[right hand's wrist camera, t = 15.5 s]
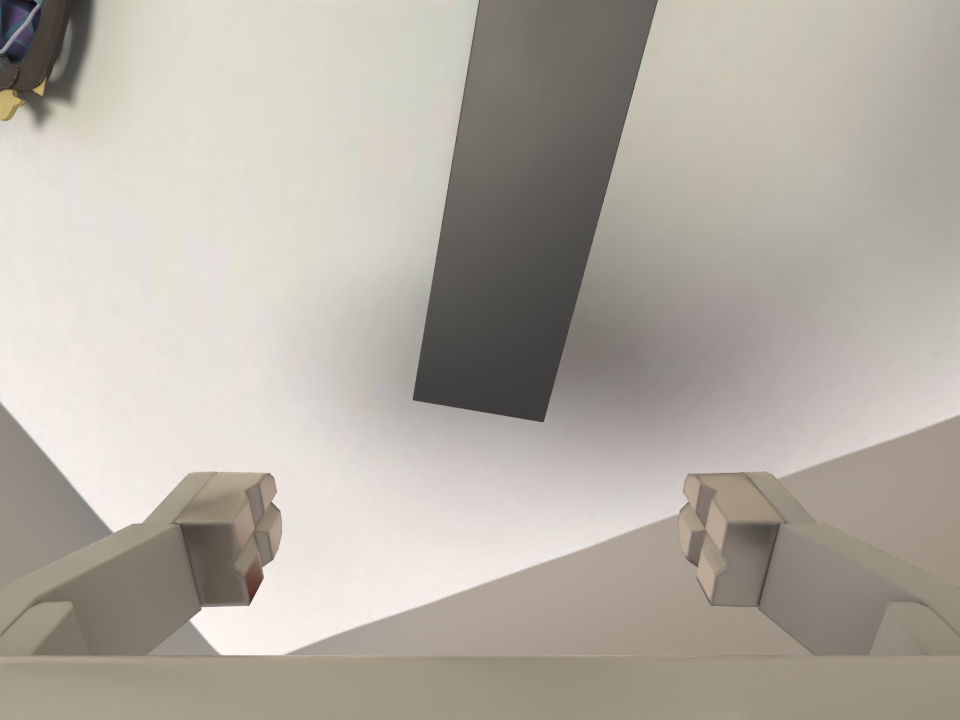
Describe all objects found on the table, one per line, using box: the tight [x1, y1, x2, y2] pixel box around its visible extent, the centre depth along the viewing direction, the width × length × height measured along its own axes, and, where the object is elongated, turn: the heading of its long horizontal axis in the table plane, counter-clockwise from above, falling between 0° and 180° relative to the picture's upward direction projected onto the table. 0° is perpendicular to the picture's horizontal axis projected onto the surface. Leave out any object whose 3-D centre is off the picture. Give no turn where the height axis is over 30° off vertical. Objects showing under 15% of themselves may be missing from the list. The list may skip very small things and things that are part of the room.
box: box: [413, 0, 658, 422], centre depth 25 cm, size 27×6×11 cm, turn 169°
